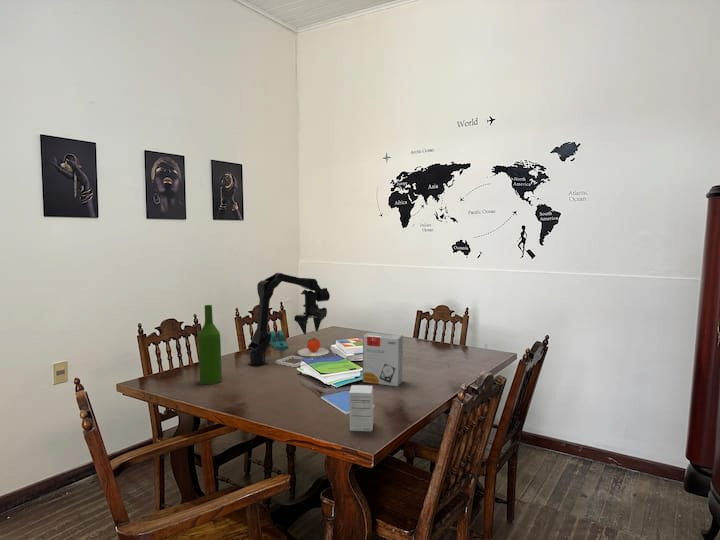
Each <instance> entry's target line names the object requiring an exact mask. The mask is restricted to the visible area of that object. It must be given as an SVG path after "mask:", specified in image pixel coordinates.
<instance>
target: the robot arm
mask: <svg viewBox="0 0 720 540" xmlns="http://www.w3.org/2000/svg"><path fill="white" fill-rule="evenodd" d="M281 282H284V283H287V284H292V285H297V286H300V287H301V288H303V291H301V292H300V295H304V304H303V305H302V306H303V308H304V312H302V313H303V314H301V313H300V314H296V315H294V322H296V323H297V324H298V326H299V327H300V329H301V331H302V334H303V335H306V334H307V325H308V323H309V321H308V320H309V319H311V318H312V319H313V324H314V329H315V332H318V331H319V329H320V326H321V323H322V321H323V320H324V319H325V318H326V317H327V313H328V309H327V308H326V307H322V308H320V307H319V305H318V303H321V302H327V301H329V300H330V298H331V297H330V296H331V294H330V292H329V290H328V288H327V287H322V288H321V286H320V285H319V284H318V280H317V279H316V278H309V277H297V276H294V275H289V274H284V273H282V272H275V273H274V274H272V275H271V276H269V277H266V278H265V279H264V280H260V281H259V282H258V283H257V288H256V290H257V294H258V298H259V299H258V300H259V303H258V311H257V312H258V314H257V325H256V329H255V331H254V334H253V336H252V340H251V342H249V344H248V346H247V349H248V351H250V352H249V357H250V362H248V365H250V366H255V367H259V366H262V365H266V364H268V362H266V352H267V350H268V347H269V346H270V344H269V342H271V341H270V338H271V333H269V331H268V323H269V313H270V312H269V311H270V300H271V298H272V296H273V295H274V291H275V289H276V288H277V287H279V285H281ZM317 302H318V303H317Z"/></svg>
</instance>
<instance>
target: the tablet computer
mask: <svg viewBox="0 0 720 540" xmlns="http://www.w3.org/2000/svg"><path fill="white" fill-rule="evenodd" d="M349 392H350V390H343V391H339V392H336V393H335V392H334V393H331V394H326V395H322V396H321V397H320V399H321V400H323V401H324V402H326V403H328V404H329V405H331V406H332V407H333V408H335V409H337V410H339V411H340V412H341V413H343V414H344V415H350V413H349ZM373 409H375V405H374V404H373Z"/></svg>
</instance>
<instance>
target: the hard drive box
mask: <svg viewBox="0 0 720 540" xmlns="http://www.w3.org/2000/svg"><path fill="white" fill-rule="evenodd" d="M403 337H404V336H403V335H402V334H390V333H381V332H367V333H365V334H363V336H362V383H367V384H371V385H372V384H376V385H383V386H384V385H386V386H391V387H399V385H400V384H402V382H403V354H404V353H403V352H404V351H403V349H404V348H403V345H404V344H403V343H404V342H403V339H404V338H403Z"/></svg>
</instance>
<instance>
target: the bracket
mask: <svg viewBox="0 0 720 540" xmlns="http://www.w3.org/2000/svg"><path fill="white" fill-rule="evenodd" d="M268 333H271V338H270V341H271V342H269V346H271V345H272V346H273V347H272V346H271V347H272V348H273V349H275V350H276V351H287V350H289V344H288V342H286V341H285V333H284V331H283V330H280V329H279V330H277V332H276V331H275V330H272V331H271V330H270V331H268ZM286 349H287V350H286Z"/></svg>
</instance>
